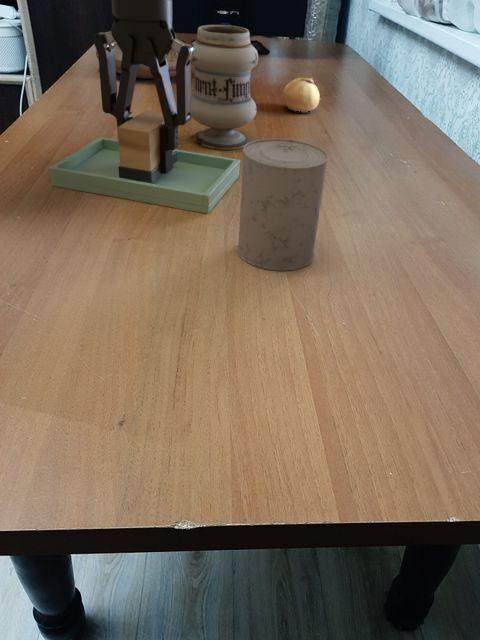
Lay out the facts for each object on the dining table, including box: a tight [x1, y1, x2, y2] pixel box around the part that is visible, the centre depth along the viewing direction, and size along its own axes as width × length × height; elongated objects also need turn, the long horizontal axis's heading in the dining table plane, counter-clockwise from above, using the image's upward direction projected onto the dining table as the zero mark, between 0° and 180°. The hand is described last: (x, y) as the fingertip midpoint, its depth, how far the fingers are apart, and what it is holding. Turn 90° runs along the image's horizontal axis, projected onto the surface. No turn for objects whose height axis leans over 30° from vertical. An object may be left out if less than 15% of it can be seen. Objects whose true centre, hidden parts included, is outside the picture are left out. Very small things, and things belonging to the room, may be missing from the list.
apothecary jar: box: [191, 24, 260, 151], centre depth 98 cm, size 12×12×18 cm
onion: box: [281, 76, 321, 113], centre depth 121 cm, size 8×8×7 cm
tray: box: [48, 136, 241, 214], centre depth 85 cm, size 24×16×3 cm, turn 76°
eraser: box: [117, 109, 177, 183], centre depth 82 cm, size 10×5×7 cm, turn 166°
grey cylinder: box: [236, 138, 330, 272], centre depth 67 cm, size 10×10×12 cm
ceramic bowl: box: [95, 43, 194, 80], centre depth 138 cm, size 23×24×5 cm
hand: (149, 167), depth 84 cm, fingers closed on eraser, 5 cm apart
